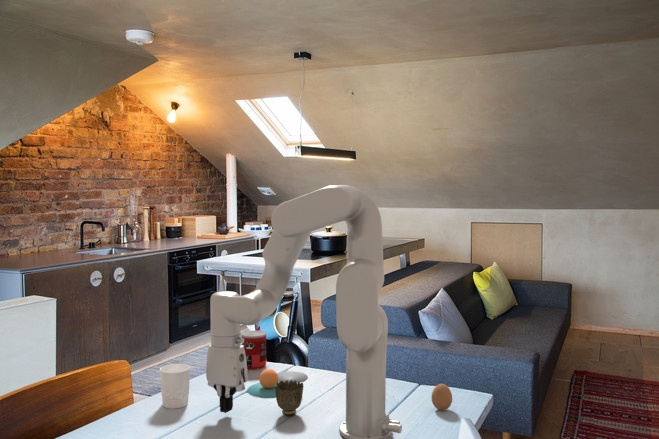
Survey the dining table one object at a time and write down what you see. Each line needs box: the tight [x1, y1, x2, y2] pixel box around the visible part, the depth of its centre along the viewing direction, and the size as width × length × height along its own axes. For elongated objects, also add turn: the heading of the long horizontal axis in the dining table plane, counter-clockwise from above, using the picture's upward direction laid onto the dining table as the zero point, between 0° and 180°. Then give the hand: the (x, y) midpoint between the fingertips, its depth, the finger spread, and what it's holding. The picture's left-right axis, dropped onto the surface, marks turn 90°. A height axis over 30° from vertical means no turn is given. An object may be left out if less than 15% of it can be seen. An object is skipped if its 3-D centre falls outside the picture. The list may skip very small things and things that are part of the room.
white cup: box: [159, 363, 191, 410], centre depth 164 cm, size 8×8×10 cm
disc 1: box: [247, 382, 279, 399], centre depth 176 cm, size 13×13×1 cm
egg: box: [431, 383, 453, 412], centre depth 161 cm, size 5×5×7 cm
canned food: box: [241, 330, 267, 371], centre depth 198 cm, size 8×8×11 cm
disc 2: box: [276, 370, 308, 384], centre depth 187 cm, size 11×11×1 cm
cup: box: [275, 380, 305, 417], centre depth 157 cm, size 8×7×8 cm
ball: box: [258, 368, 278, 389], centre depth 177 cm, size 6×6×6 cm
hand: (226, 410), depth 156 cm, fingers closed
